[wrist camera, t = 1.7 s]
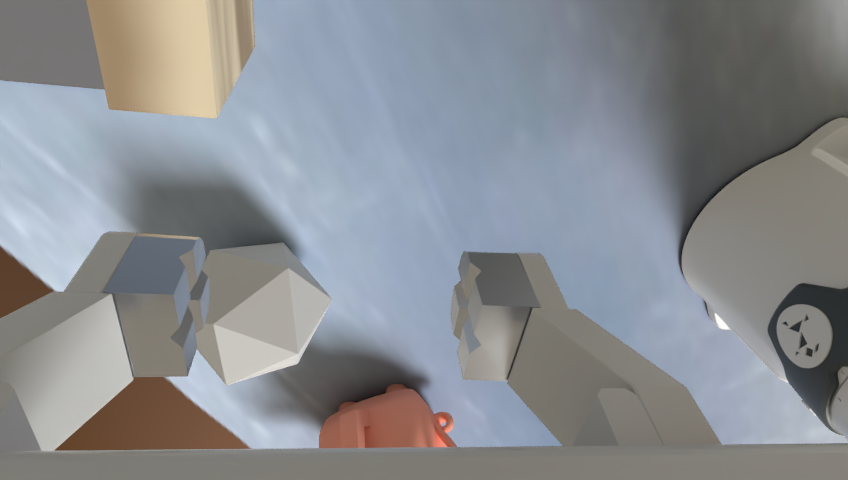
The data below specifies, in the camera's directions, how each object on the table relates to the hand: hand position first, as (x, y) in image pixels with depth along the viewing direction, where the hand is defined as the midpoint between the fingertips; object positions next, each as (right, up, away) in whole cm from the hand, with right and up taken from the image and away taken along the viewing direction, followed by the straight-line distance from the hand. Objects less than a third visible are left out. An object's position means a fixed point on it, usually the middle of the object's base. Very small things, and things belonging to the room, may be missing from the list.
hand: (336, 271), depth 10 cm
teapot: (-2, -16, +40) cm, 43 cm away
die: (-10, -2, +29) cm, 31 cm away
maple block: (-9, +14, +18) cm, 24 cm away
